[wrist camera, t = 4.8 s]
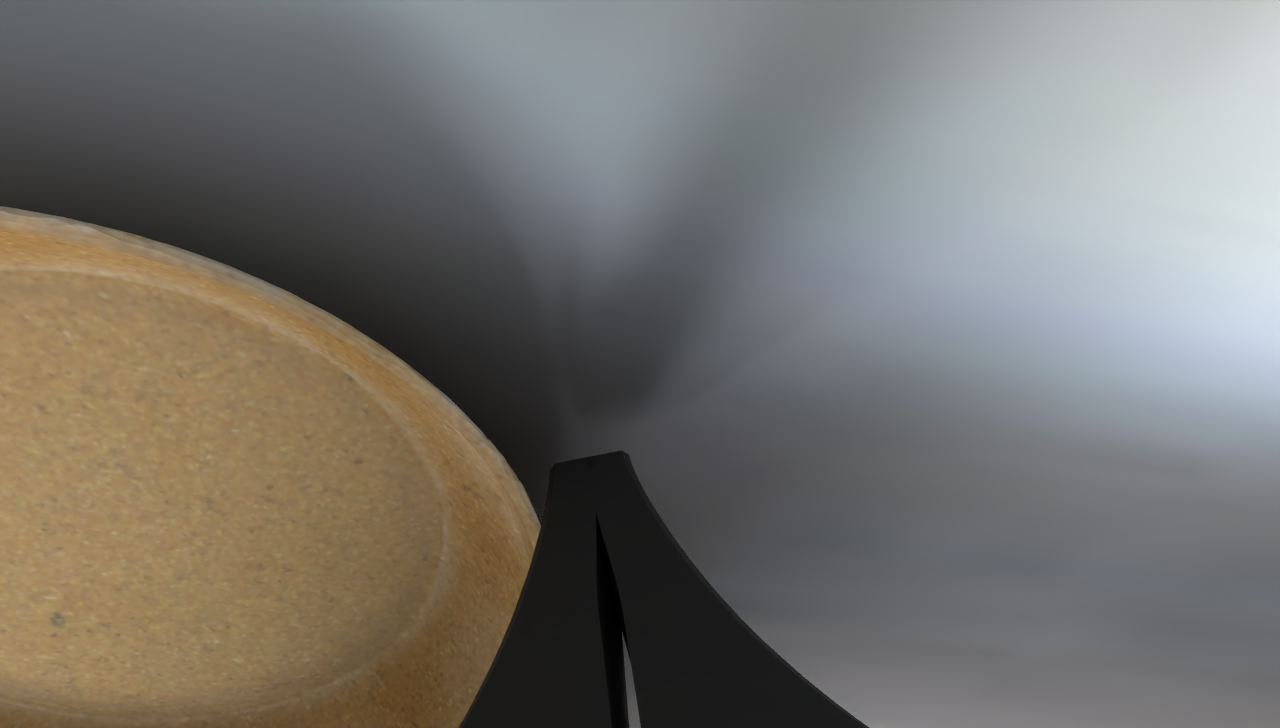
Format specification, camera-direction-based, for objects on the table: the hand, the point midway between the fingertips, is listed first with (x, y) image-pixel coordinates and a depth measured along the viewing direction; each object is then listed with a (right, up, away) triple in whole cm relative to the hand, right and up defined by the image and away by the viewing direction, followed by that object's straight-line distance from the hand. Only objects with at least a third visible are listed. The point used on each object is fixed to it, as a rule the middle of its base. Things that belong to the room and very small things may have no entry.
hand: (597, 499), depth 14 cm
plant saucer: (-8, 0, +1) cm, 9 cm away
